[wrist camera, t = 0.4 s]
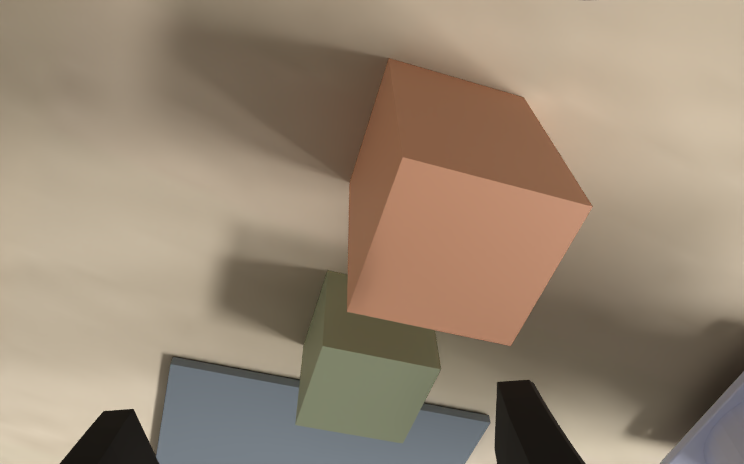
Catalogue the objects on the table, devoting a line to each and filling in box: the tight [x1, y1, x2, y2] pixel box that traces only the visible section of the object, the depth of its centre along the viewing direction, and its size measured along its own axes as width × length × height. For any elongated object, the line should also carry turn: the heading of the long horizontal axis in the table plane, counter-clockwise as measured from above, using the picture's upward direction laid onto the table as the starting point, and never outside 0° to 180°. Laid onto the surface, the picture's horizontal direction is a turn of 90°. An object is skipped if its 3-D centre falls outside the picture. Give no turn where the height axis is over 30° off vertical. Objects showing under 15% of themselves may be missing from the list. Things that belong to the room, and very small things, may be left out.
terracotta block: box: [347, 58, 593, 346], centre depth 17 cm, size 4×4×6 cm
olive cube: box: [295, 270, 441, 443], centre depth 22 cm, size 4×4×4 cm
